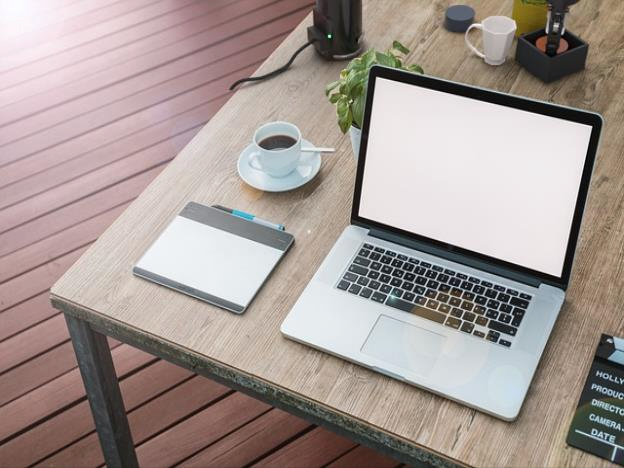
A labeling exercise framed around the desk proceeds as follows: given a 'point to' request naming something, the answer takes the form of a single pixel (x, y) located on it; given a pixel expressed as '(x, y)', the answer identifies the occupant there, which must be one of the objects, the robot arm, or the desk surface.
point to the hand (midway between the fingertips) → (550, 51)
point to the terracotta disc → (541, 41)
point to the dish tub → (553, 66)
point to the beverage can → (529, 15)
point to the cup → (495, 38)
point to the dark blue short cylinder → (459, 18)
